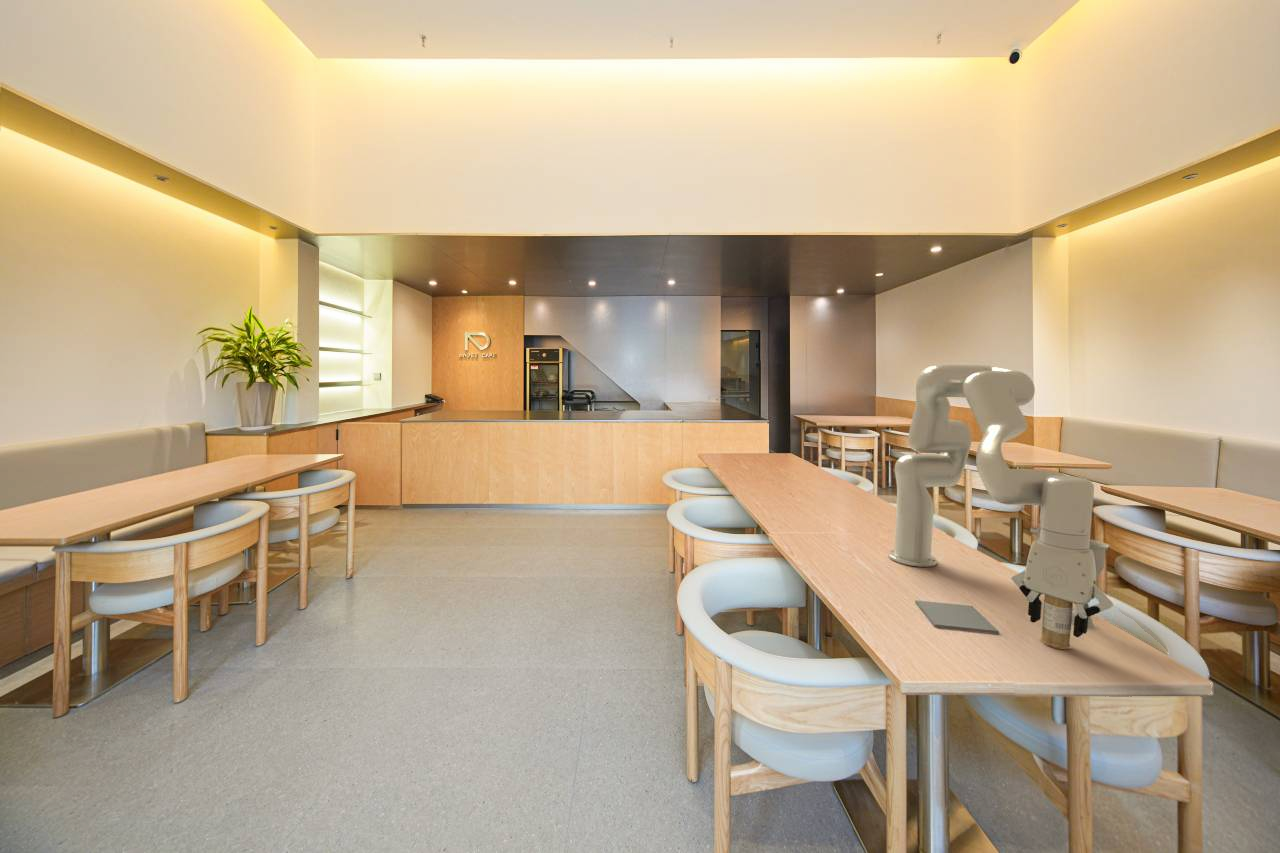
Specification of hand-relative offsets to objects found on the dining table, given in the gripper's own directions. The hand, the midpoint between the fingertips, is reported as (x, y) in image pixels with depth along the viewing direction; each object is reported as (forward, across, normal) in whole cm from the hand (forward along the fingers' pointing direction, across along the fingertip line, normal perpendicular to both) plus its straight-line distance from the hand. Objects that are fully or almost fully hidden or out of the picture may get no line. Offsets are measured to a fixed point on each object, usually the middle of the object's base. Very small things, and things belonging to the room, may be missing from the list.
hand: (1056, 626), depth 96 cm
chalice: (+4, -1, +16) cm, 17 cm away
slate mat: (+4, -16, -5) cm, 17 cm away
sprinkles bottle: (+4, 0, 0) cm, 4 cm away
